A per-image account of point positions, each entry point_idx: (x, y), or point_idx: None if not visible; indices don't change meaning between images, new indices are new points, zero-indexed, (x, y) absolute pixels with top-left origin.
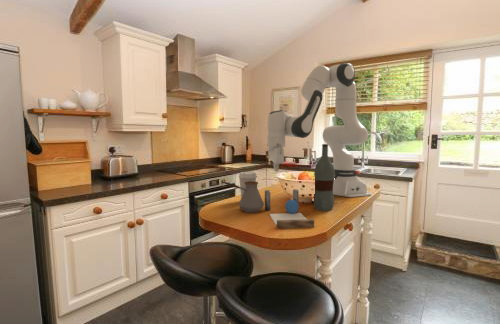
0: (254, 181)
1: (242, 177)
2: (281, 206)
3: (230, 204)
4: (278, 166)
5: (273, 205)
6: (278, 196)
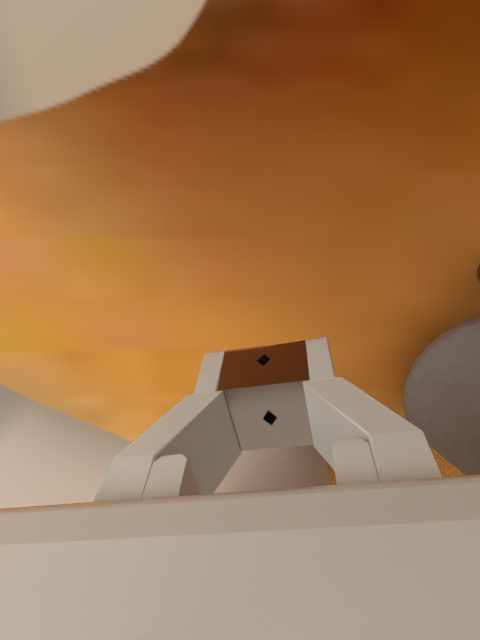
0: (306, 483)
1: None
2: (409, 157)
3: (330, 466)
4: (370, 404)
5: (370, 225)
6: (52, 179)
